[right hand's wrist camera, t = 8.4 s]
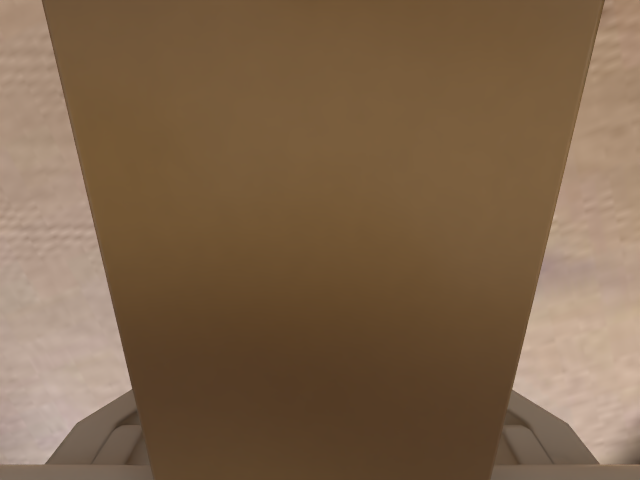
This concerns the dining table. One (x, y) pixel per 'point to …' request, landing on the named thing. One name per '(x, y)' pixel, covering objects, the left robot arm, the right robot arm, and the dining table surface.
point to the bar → (322, 219)
